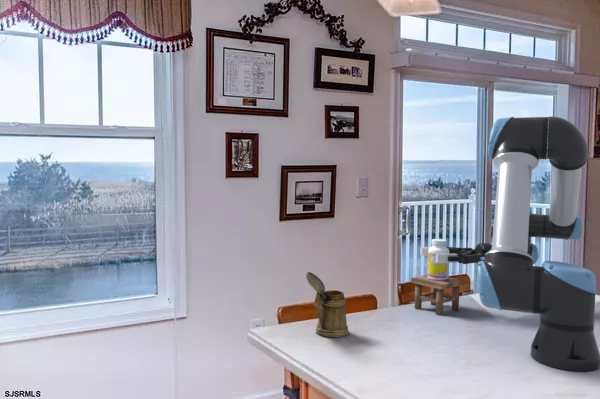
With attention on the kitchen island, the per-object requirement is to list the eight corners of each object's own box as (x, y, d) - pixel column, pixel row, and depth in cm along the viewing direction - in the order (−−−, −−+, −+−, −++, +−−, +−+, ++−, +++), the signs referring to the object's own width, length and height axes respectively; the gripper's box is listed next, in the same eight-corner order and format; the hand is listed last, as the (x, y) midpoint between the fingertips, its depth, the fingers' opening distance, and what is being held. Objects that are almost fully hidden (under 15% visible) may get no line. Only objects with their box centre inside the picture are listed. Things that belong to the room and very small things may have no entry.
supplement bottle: (432, 276, 176) (434, 238, 175) (451, 279, 172) (453, 240, 171) (423, 279, 171) (425, 239, 170) (442, 282, 167) (444, 241, 166)
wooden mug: (296, 334, 143) (297, 268, 142) (333, 326, 151) (335, 264, 150) (317, 343, 136) (318, 274, 135) (355, 334, 144) (357, 269, 143)
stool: (440, 316, 163) (441, 284, 163) (410, 307, 173) (411, 277, 172) (463, 310, 171) (464, 280, 170) (433, 302, 180) (434, 273, 180)
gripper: (509, 273, 161) (443, 273, 158) (472, 259, 186) (414, 259, 183) (511, 249, 161) (444, 249, 158) (473, 238, 185) (415, 238, 182)
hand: (428, 254), depth 170 cm, fingers open, 13 cm apart
